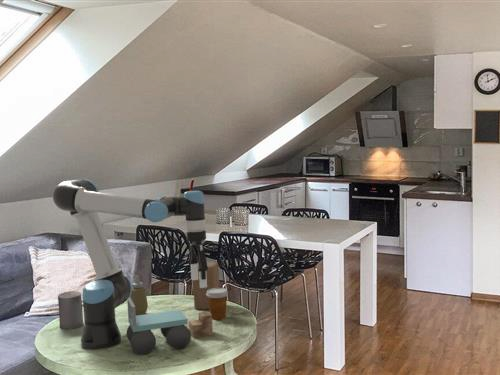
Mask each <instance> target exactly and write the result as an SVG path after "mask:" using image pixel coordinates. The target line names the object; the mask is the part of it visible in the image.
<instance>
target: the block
mask: <svg viewBox="0 0 500 375" xmlns="http://www.w3.org/2000/svg"><path fill="white" fill-rule="evenodd" d="M196 264H198V263H196ZM207 267H208V270H207V271H206V275H207V287H205V288H200V281H199V272H198V280H192V283H193V284H192V285H193V286H192V287H193V288H192V289H193V308H194V310H195V309H196V310H209V304H208V298H207V295H206V293H207V290H209V289H213V288H220V275H219V274H220V272H219V270H220V269H219V263H218V262H217V261H212V262H211V261H207ZM198 269H199V265H198Z"/></svg>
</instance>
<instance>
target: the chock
mask: <svg viewBox="0 0 500 375" xmlns="http://www.w3.org/2000/svg"><path fill="white" fill-rule="evenodd" d="M188 329H189V331H190V333H191V338H193V339H194V338H201V337H209V336H213V335H214V334H213V332H214V331H213V319H212V315H211V314H210V311H207V310H205V311H200V312H198V319H195V320H194V319H193V320H188Z"/></svg>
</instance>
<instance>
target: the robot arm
mask: <svg viewBox="0 0 500 375" xmlns="http://www.w3.org/2000/svg"><path fill="white" fill-rule="evenodd" d="M52 201H53V203H54V204H55V206H56V207H57V208H58V209H60V210H62V211H65V212H69V213H70V216H71V217H72V218H74V219H76V221H77V224H78V227H79V230H80V233H81V235H82V238H83V241H84V244H85V247H86V248H87V252H88V256H89V257H90V258H89V259H90V261H91V264H92V267H93V269H94V272H95V276H94V278H93V281H90V282H88V283H86V284H85V285H84V287H83V288H82V294H81V298H82V309H83V323H84V326H83V330H82V335H81V339H80V346H81V348H83V349H86V350H93V351H94V350H103V349H108V348H109V349H110V348H113V347H115V346H117V345H120V343H121V342H122V334H121V331H120V329H119V327H118V325H117V324H118V323H117V322H116V321H117V320H116V308H118V307H119V306H121V305H123V304H124V303H127V298H130V295H131V293H132V288H133V287H132V281H131V280H130V278H129V277H128V276H126V275H125V274H124V273H123V269H122V268H120V267H118V266H117V264H116V261H115V259H114V255H113V253H112V249H111V247H110V244H109V241H108V238H107V235H106V232H105V229H104V228H103V224H102V223H101V219H100V216H99V213H101V214H102V213H103V214H109V215H117V216H121V217H122V216H123V217H131V218H136V219H137V218H138V219H144V220H148V221H149V222H151V223H160V222H162V221H164V220H166V219H168V218H171V217H178V216H181V217H182V216H184V217H185V230H186V240H187V242H189V255H188V262H189V264H190V276H191V281H193V280H198V272H199V281H200V288H205V287H207V275H206V271H207V270H208V267H207V262H208V260H207V256H206V252H205V250H206V249H205V244H203V243H202V242H203V241H206V240H207V231H206V230H205V229H206V224H207V221H206V217H205V198H204V192H203V191H202V190H188V191H185V192H184V195H183V196H163V197H161V196H160V197H157V198H156V199H149V198H142V197H138V196H137V197H136V196H128V195H123V194H114V193H107V192H101V191H100V192H99V187H98V186H97V185H96V184H95V183H94V181H91V180H90V179H86V178H77V179H73V180H65V181H62V182H60V183H59V184H57V185H56V186H55V188H54V190H53V193H52ZM197 263H198V264H197ZM198 265H199V269H198Z"/></svg>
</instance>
